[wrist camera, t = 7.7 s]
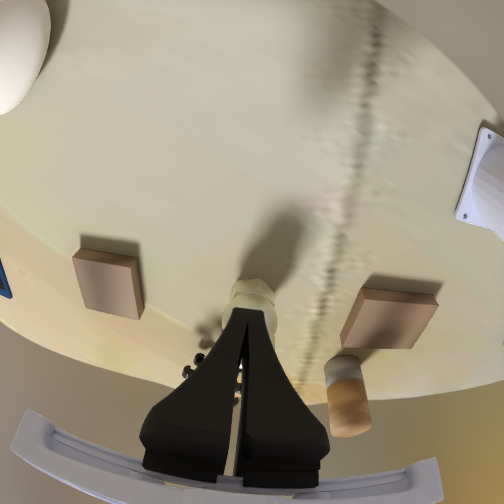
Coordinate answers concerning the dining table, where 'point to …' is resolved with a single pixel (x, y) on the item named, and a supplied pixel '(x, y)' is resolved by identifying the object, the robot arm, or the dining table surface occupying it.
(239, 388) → the valve
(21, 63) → the flower in vase
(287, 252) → the dining table surface
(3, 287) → the cell phone
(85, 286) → the blocks
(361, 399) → the marker peg
